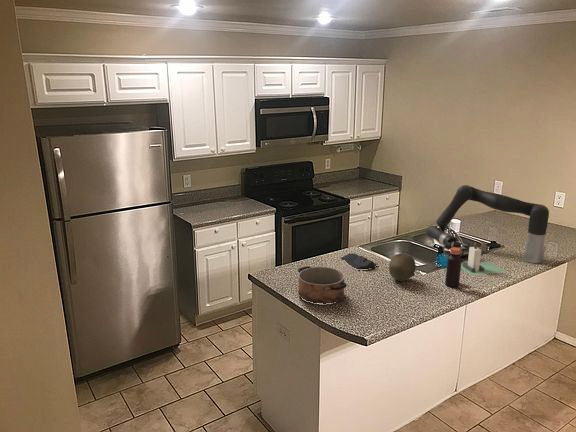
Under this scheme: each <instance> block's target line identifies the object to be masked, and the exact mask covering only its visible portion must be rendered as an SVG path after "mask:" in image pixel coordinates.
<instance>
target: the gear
mask: <svg viewBox="0 0 576 432" xmlns="http://www.w3.org/2000/svg"><path fill="white" fill-rule="evenodd" d="M448 257H449V255H448V254H445V253H441V254H440V253H439V254H438V256H437V257H436V261H435V262H436V263H437V266H438V267H440V266H441V267H440V268H441V269H444V268H445V269H447V260H448Z"/></svg>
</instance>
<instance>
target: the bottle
mask: <svg viewBox="0 0 576 432" xmlns="http://www.w3.org/2000/svg"><path fill="white" fill-rule="evenodd" d="M461 252H462V249H461V248H456V247H452V248H451V249H449V254H450V255H448V257H447V258H448V260H447V268H446V270H445V271H446V272H445V282H444V285H445V286H446V287H448V288H451V289H457V288H459V286H460V279H461V270H462V268H461V264H462V261H463V260H462V259H463V258H462V257H461V256H460V255H461Z"/></svg>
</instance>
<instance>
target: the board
mask: <svg viewBox="0 0 576 432" xmlns="http://www.w3.org/2000/svg"><path fill="white" fill-rule="evenodd" d="M480 265H481V266H482V267H484V271H480V270H479V271H475V272H470V271H469V270H467V269H466V268H464V267H463V263H461V270H463V271H464V272H466V273H468V274H469V275H470V276H479V275H489V274H499V273H508V270H506V269H504V268H503V267H501V266H499V265H497V264H495V263H493V262H492V261H480Z"/></svg>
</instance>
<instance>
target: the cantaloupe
mask: <svg viewBox="0 0 576 432" xmlns="http://www.w3.org/2000/svg"><path fill="white" fill-rule="evenodd" d="M416 266H417V265H416V262H415V259H414V257H412V256H411V255H410V254H407V253H404V252H399V253H396V254H395V255H393V256H392V257H391V259H390V261H389V263H388V271H389V274H390V276H391V277H392V278H393V279H394V280H395V281H399V282H404V281H408V280H410V279H411V278H412V277H413V275H414V274H415V272H416Z"/></svg>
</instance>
